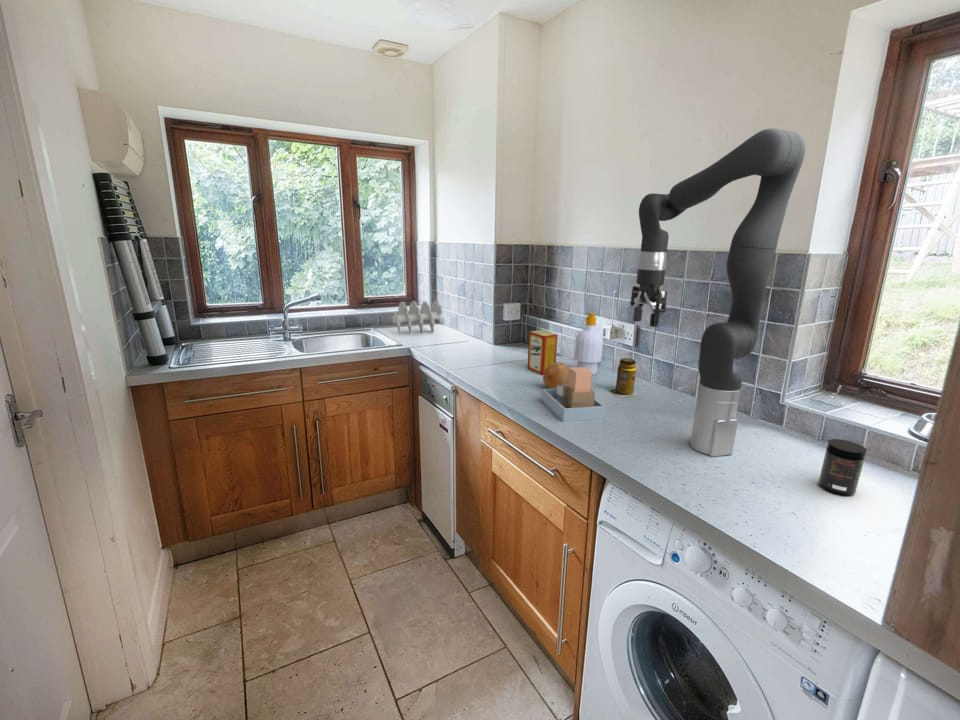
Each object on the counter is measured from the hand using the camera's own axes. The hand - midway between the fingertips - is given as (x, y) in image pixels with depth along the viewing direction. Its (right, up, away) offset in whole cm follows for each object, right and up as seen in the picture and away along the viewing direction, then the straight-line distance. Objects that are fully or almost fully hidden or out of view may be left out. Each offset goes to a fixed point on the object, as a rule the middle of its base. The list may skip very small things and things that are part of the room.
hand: (645, 323), depth 136 cm
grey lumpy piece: (-83, +4, +115) cm, 142 cm away
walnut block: (-19, -27, +4) cm, 33 cm away
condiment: (+1, -22, +26) cm, 34 cm away
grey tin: (-21, -25, +12) cm, 35 cm away
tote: (-20, -27, +8) cm, 34 cm away
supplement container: (+30, -39, -34) cm, 60 cm away
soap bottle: (-6, -16, +48) cm, 51 cm away
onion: (-22, -21, +27) cm, 41 cm away
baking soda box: (-24, -15, +50) cm, 57 cm away
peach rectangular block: (-19, -19, +2) cm, 27 cm away
